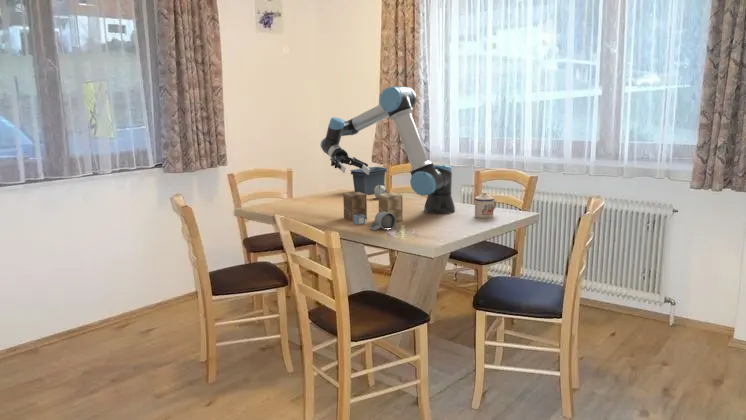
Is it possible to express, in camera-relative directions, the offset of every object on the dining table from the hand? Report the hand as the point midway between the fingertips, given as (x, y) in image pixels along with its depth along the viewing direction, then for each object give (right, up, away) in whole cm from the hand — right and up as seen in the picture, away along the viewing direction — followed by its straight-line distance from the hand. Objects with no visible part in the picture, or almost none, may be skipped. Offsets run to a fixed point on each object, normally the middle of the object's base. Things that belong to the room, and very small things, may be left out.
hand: (357, 171), depth 291 cm
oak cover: (+16, -23, -7) cm, 29 cm away
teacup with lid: (+62, -22, -2) cm, 65 cm away
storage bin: (+5, -9, +68) cm, 69 cm away
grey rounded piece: (+12, -12, +48) cm, 51 cm away
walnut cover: (-1, -23, -4) cm, 23 cm away
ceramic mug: (+12, -27, -25) cm, 39 cm away
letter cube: (+1, -25, -14) cm, 29 cm away
